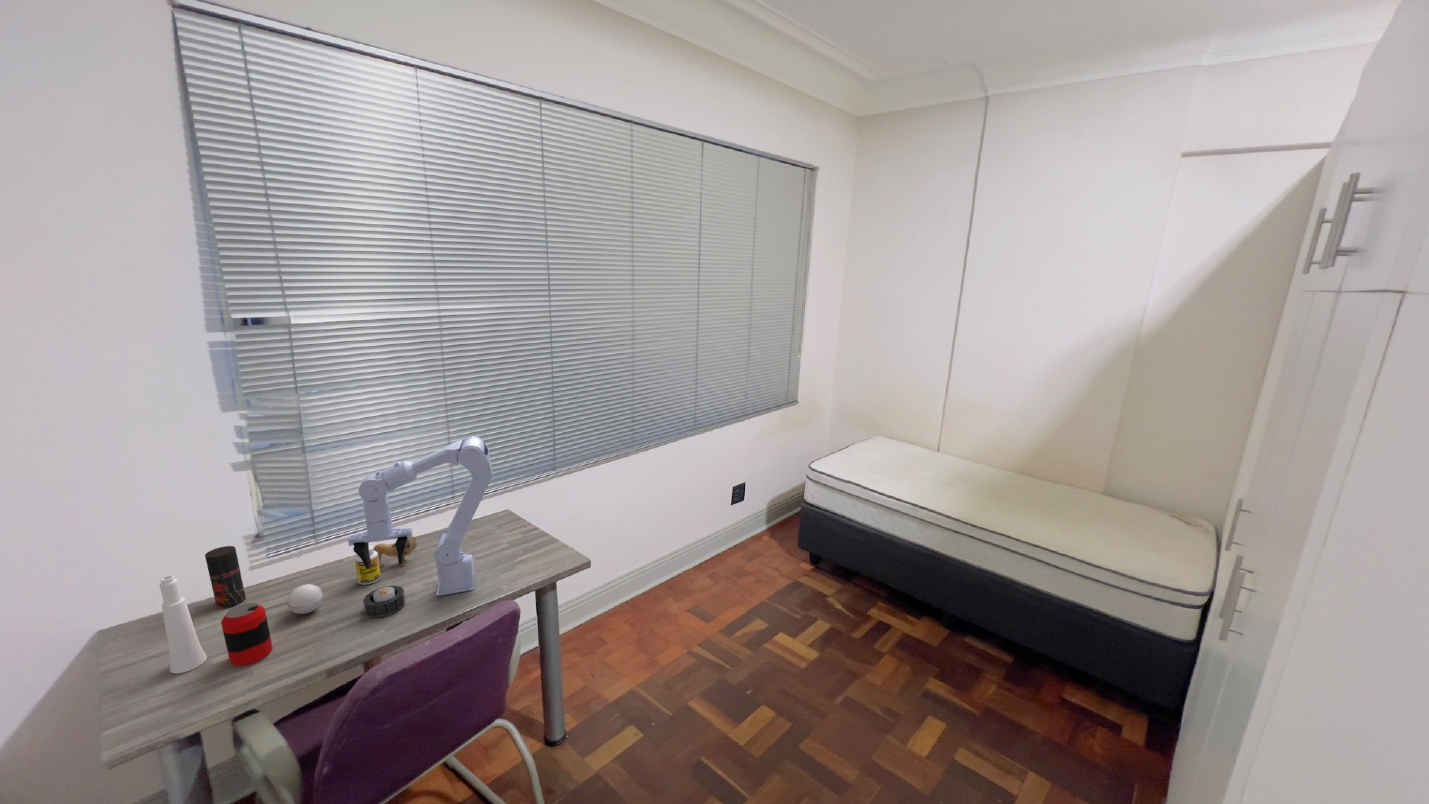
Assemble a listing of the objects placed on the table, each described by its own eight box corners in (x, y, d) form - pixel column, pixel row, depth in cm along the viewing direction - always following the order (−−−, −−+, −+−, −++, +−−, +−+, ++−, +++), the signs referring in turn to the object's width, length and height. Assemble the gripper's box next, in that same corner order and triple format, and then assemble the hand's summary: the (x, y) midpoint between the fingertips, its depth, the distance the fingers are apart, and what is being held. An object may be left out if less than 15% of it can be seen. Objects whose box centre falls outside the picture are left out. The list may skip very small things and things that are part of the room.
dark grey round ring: (407, 594, 148) (406, 583, 147) (401, 613, 140) (399, 601, 139) (370, 600, 145) (368, 589, 144) (361, 620, 137) (359, 608, 136)
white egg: (321, 599, 145) (317, 575, 144) (327, 611, 140) (322, 587, 138) (274, 615, 138) (269, 589, 137) (278, 628, 133) (273, 602, 132)
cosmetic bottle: (198, 670, 119) (176, 582, 114) (163, 676, 117) (140, 587, 112) (212, 652, 125) (192, 568, 119) (179, 658, 123) (158, 572, 117)
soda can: (265, 662, 122) (255, 616, 119) (223, 670, 119) (212, 623, 116) (278, 641, 129) (269, 597, 126) (239, 648, 126) (229, 603, 123)
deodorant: (250, 599, 145) (240, 549, 141) (223, 611, 140) (212, 559, 136) (238, 593, 147) (228, 544, 144) (211, 605, 142) (200, 554, 138)
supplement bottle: (358, 587, 151) (353, 555, 148) (358, 578, 155) (353, 546, 153) (381, 582, 154) (377, 549, 151) (380, 573, 158) (376, 541, 156)
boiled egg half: (397, 598, 145) (395, 584, 144) (394, 608, 141) (392, 594, 140) (377, 601, 144) (375, 588, 143) (373, 612, 139) (370, 598, 138)
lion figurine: (421, 557, 168) (418, 531, 165) (416, 566, 162) (413, 539, 160) (369, 561, 164) (365, 535, 162) (362, 571, 159) (358, 543, 157)
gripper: (412, 508, 148) (417, 553, 151) (350, 515, 143) (357, 561, 146) (407, 519, 141) (413, 565, 144) (343, 527, 136) (350, 575, 139)
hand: (384, 564), depth 145 cm, fingers open, 7 cm apart
